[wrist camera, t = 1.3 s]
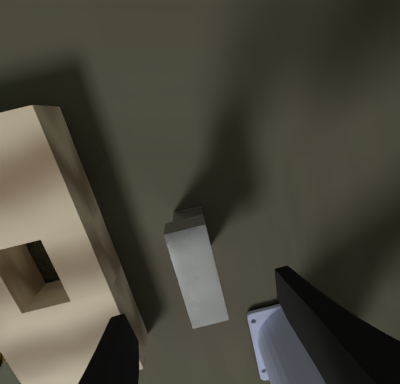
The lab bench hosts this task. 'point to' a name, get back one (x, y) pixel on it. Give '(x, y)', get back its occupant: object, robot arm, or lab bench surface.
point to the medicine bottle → (1, 360)
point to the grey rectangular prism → (195, 267)
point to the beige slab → (54, 254)
